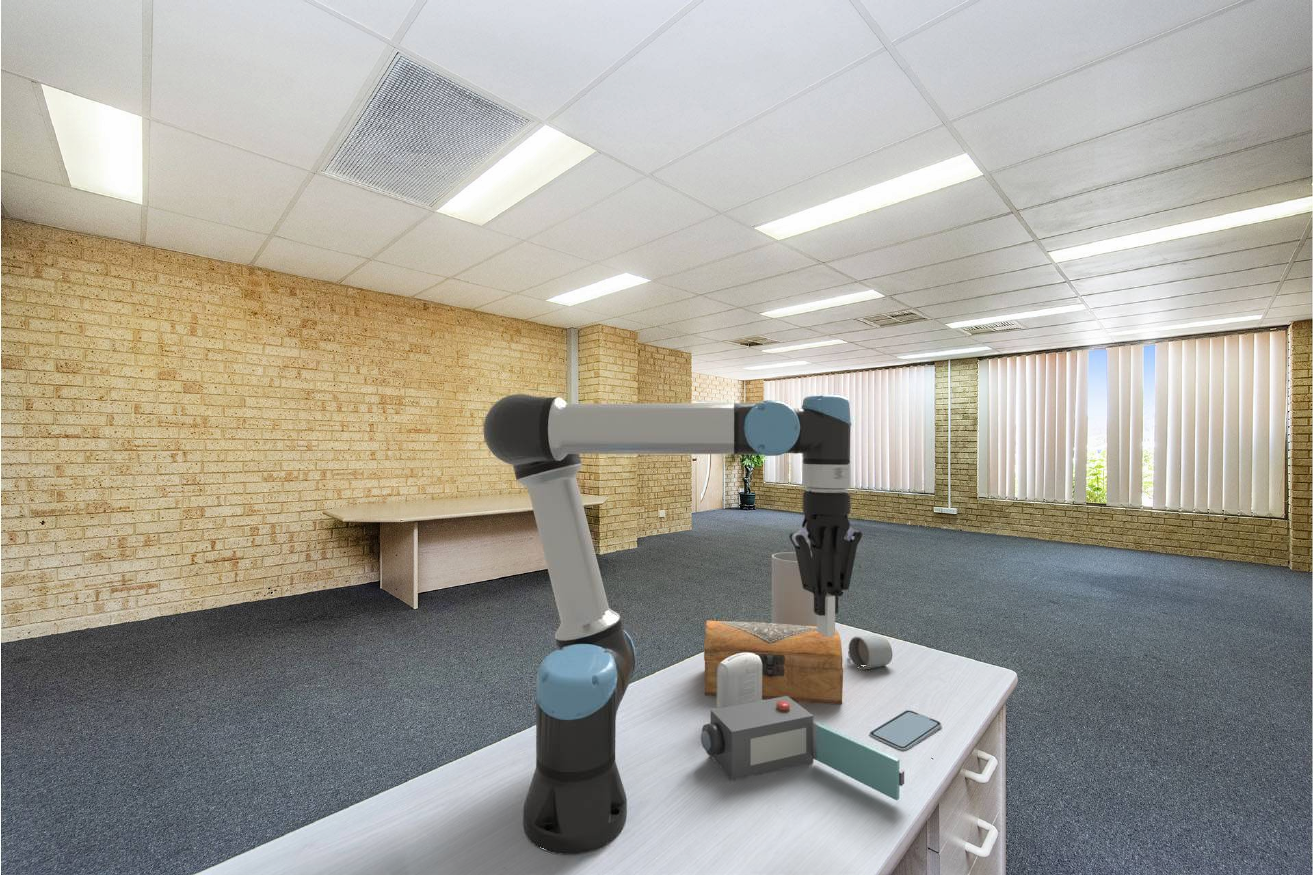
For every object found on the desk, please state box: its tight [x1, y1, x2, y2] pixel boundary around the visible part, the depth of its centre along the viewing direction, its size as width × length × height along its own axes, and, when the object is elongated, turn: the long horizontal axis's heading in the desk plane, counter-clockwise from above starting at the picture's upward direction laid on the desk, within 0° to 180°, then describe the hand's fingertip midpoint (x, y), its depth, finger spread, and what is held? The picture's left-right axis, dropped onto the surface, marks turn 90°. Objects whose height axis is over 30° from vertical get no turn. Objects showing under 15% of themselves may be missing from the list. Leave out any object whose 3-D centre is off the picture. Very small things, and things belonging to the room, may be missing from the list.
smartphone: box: [868, 709, 942, 752], centre depth 106 cm, size 7×1×15 cm
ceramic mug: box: [847, 635, 893, 670], centre depth 139 cm, size 11×8×8 cm
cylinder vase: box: [771, 551, 817, 627], centre depth 149 cm, size 12×12×25 cm
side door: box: [813, 721, 905, 801], centre depth 90 cm, size 15×2×6 cm, turn 41°
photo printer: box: [716, 653, 763, 709], centre depth 112 cm, size 10×4×12 cm, turn 123°
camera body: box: [700, 696, 814, 782], centre depth 96 cm, size 19×8×9 cm, turn 110°
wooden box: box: [703, 620, 844, 705], centre depth 126 cm, size 30×16×14 cm, turn 81°
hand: (825, 633), depth 90 cm, fingers closed
